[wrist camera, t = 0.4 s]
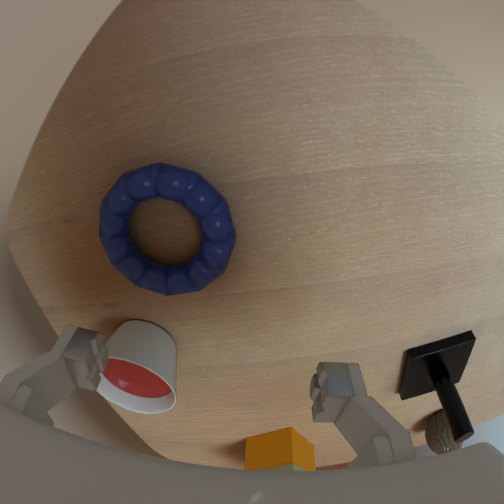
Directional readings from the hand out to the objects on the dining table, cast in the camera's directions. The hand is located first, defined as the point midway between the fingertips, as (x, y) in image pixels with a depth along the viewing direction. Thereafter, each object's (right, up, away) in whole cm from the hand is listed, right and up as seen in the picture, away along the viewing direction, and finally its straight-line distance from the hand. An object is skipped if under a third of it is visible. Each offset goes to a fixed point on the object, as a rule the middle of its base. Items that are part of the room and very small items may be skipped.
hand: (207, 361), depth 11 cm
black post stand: (+25, -10, +22) cm, 34 cm away
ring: (-5, +5, +13) cm, 15 cm away
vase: (+33, -23, +30) cm, 50 cm away
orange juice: (+6, -26, +32) cm, 41 cm away
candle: (-10, -6, +21) cm, 23 cm away
